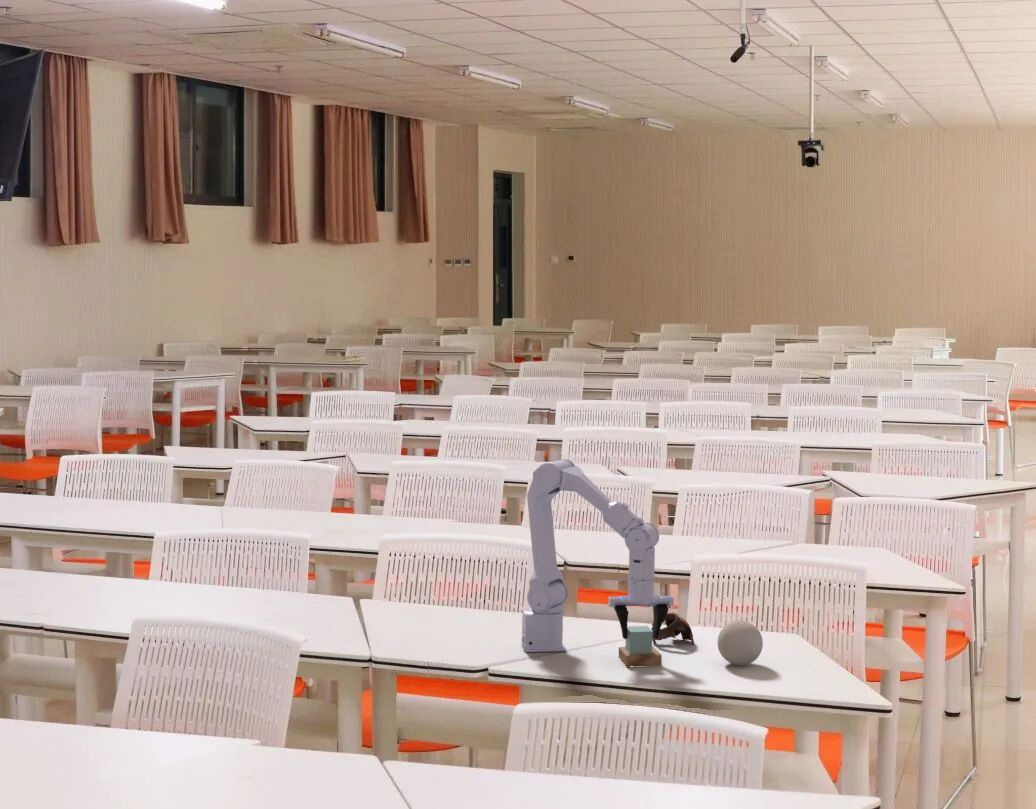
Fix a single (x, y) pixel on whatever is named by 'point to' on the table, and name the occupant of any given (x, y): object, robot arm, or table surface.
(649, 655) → the slab
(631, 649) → the cube
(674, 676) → the table surface
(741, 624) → the grey sphere
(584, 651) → the table surface
